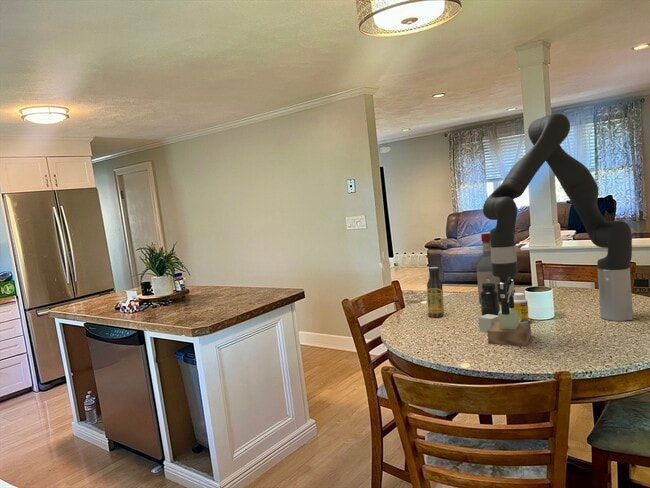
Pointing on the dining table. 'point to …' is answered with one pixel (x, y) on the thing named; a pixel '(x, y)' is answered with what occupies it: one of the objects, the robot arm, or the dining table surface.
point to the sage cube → (508, 320)
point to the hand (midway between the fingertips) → (508, 311)
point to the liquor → (486, 266)
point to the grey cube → (487, 321)
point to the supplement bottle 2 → (521, 307)
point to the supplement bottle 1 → (489, 299)
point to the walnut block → (509, 334)
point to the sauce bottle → (435, 294)
